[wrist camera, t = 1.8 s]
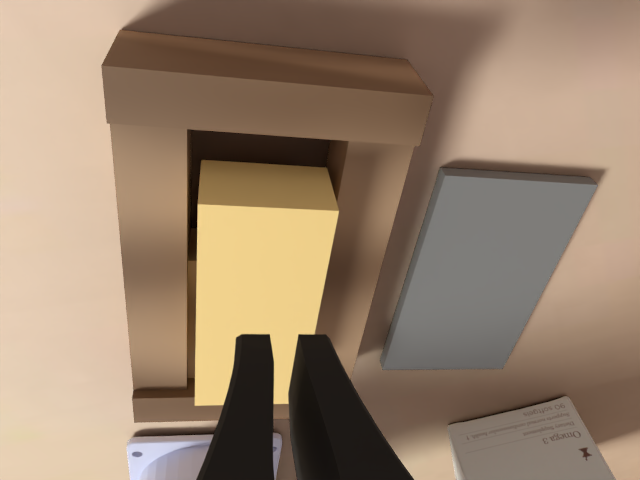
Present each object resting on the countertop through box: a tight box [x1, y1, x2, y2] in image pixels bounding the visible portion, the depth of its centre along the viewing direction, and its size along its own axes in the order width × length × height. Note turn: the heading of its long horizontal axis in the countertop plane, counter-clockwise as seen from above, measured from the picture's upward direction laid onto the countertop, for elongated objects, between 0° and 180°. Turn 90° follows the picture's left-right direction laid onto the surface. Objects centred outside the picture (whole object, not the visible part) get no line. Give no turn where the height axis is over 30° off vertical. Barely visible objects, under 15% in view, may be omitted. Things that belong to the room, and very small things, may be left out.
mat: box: [380, 167, 598, 370], centre depth 24 cm, size 11×6×1 cm, turn 172°
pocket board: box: [102, 30, 434, 423], centre depth 21 cm, size 15×9×3 cm, turn 172°
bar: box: [195, 160, 339, 406], centre depth 19 cm, size 9×4×2 cm, turn 172°
